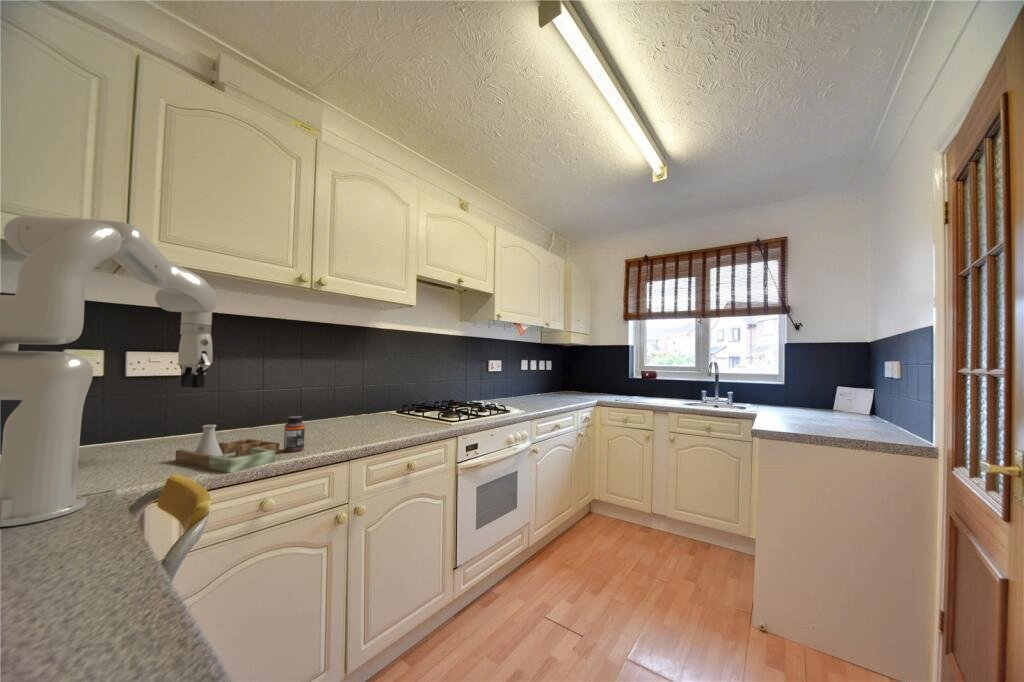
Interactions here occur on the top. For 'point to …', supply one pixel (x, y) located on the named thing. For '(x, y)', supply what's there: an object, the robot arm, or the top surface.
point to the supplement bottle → (294, 434)
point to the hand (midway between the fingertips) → (192, 386)
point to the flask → (209, 442)
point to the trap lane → (256, 448)
